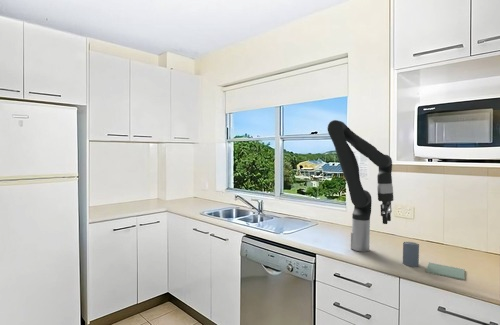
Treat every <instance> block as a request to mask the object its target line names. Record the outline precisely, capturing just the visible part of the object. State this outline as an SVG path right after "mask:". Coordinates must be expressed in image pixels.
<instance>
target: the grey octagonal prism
mask: <svg viewBox="0 0 500 325" xmlns="http://www.w3.org/2000/svg"><path fill="white" fill-rule="evenodd" d="M419 261H420V244H419V243H418V242H417V243H416V242H413V241H403V244H402V264H403V265H405V266H406V267H410V268H411V267H412V268H419V265H420V262H419Z"/></svg>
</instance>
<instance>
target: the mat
mask: <svg viewBox="0 0 500 325" xmlns="http://www.w3.org/2000/svg"><path fill="white" fill-rule="evenodd" d="M427 264H428V265H427V266H426V270H425V273H427V274H433V275H439V276H443V277H447V278H451V279H455V280H456V279H457V280H460V281H465V274H466V273H465V269H464V268H460V267H459V268H458V267H455V266H450V265H449V266H448V265H445V264H439V263H435V262H428V263H427Z"/></svg>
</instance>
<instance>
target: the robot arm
mask: <svg viewBox="0 0 500 325" xmlns="http://www.w3.org/2000/svg"><path fill="white" fill-rule="evenodd" d="M326 128H327V133H328V136H329V137H330V139H331V141H332V144H333V147H334V148H335V153H336V156H337V159H338V163H339V165H340V168H341V170H342V171H341V172H342V173H343V177H344V178H345V183H346V184H347V187H348V191H349V198H350V201H351V203H352V204H353V205H354V208H353V212H352V215H351V216H352V219H351V221H352V222H351V223H352V224H351V228H352V229H351V232H350V250H353V251H356V252H360V253H361V252H362V253H365V252H369V251H370V239H371V238H370V234H371V233H370V231H371V230H370V229H371V215H372V204H373V203H372V202H373V201H372V195H371V193H370V192H369V191H368V190H365V189H364V187H363V184H362V183H361V178H360V177H361V174H360V167H359V162H358V161H357V158H356V154H355V153H354V151H353V149H355V150H356V151H357V152H358V153H360V154H361V155H363V156H364V157H366V158H367V159H368V160H369V161H370V162H372V163H373V164H374V165H375V166H376V167H377V168H378V173H377V176H376V178H377V186H376V188H377V200H378V202H381V204H380V205H379V206H380V217H381V218H382V225H387V224H388V222H391V220H392V216H391V214H392V202H393V201H394V186H393V177H392V171H393V159H392V157H391V156H390V155H388V154H384V153H383V152H381V151H380V150H378V149H377V148H376V147H375V146H374V145H373V144H371V143H370V142H368V141H367V140H365V139H364V138H362V137H361V136H359V135H358V134H356V133H355V132H354V131H353V130H352V129H350V128H349V126H347V125H346V123H345V122H343V121H340V120H336V119H334V120H331V121H329V123H328V124H327V127H326ZM349 144H350V145H351V146H352V147H353V149H352V148H351V146H350V145H349Z"/></svg>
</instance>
